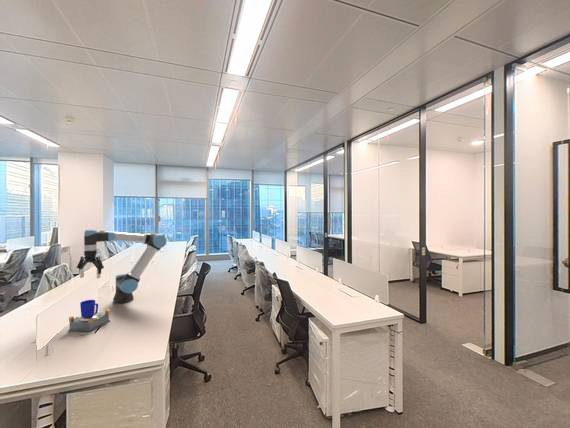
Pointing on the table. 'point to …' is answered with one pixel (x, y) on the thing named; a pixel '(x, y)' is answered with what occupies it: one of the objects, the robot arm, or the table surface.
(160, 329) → the table surface
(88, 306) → the mug
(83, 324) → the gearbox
